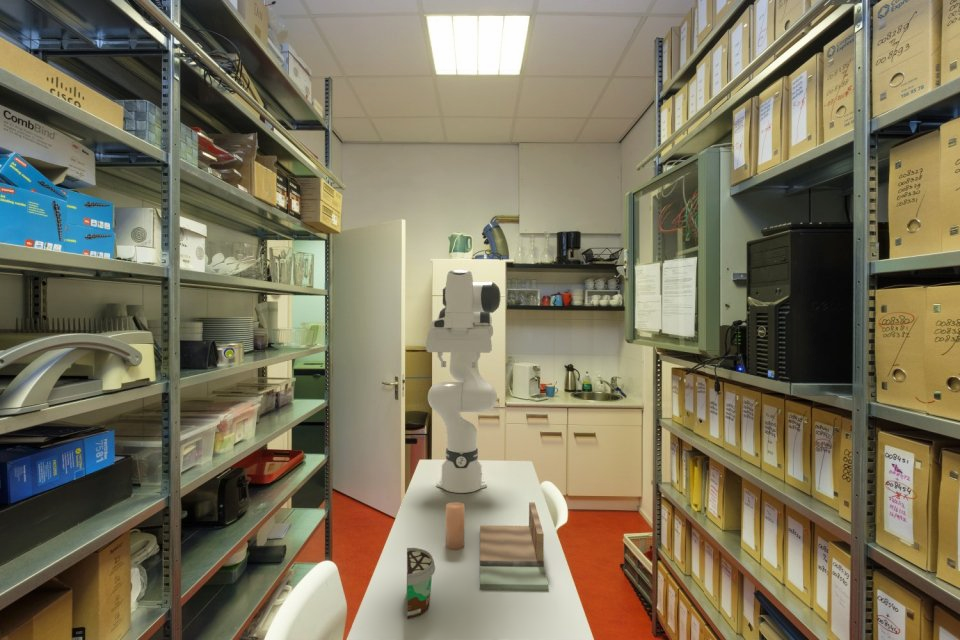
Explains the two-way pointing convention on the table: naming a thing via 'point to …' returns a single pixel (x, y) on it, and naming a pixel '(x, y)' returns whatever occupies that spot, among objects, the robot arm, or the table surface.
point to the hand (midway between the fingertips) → (458, 367)
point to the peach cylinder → (455, 525)
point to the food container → (418, 581)
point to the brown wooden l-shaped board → (513, 555)
